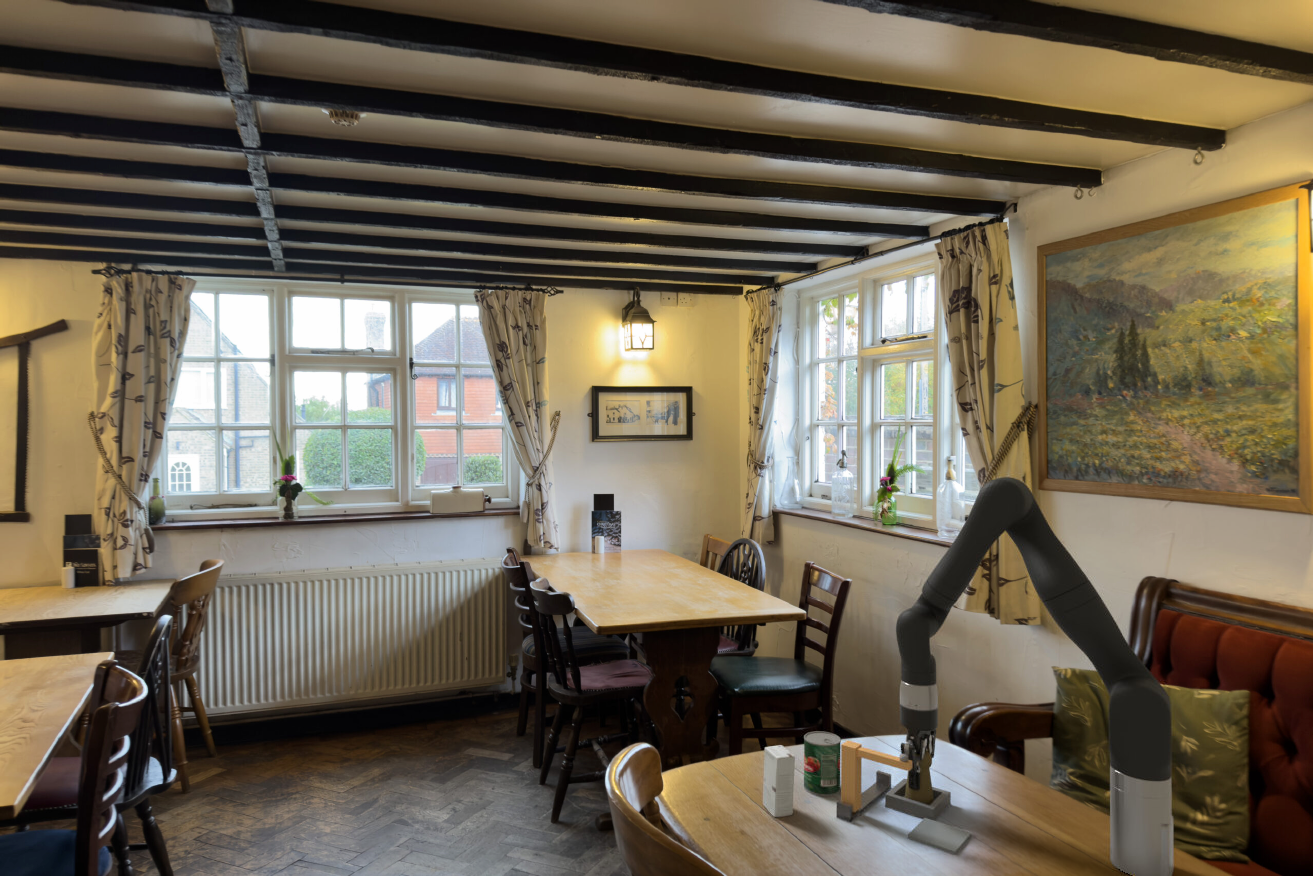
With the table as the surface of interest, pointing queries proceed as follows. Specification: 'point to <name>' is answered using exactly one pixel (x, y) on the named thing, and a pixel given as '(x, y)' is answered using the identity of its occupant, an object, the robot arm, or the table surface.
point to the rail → (865, 797)
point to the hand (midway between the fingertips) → (919, 784)
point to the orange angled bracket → (852, 769)
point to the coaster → (939, 835)
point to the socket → (915, 808)
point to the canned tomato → (822, 763)
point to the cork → (922, 783)
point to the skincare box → (778, 781)
